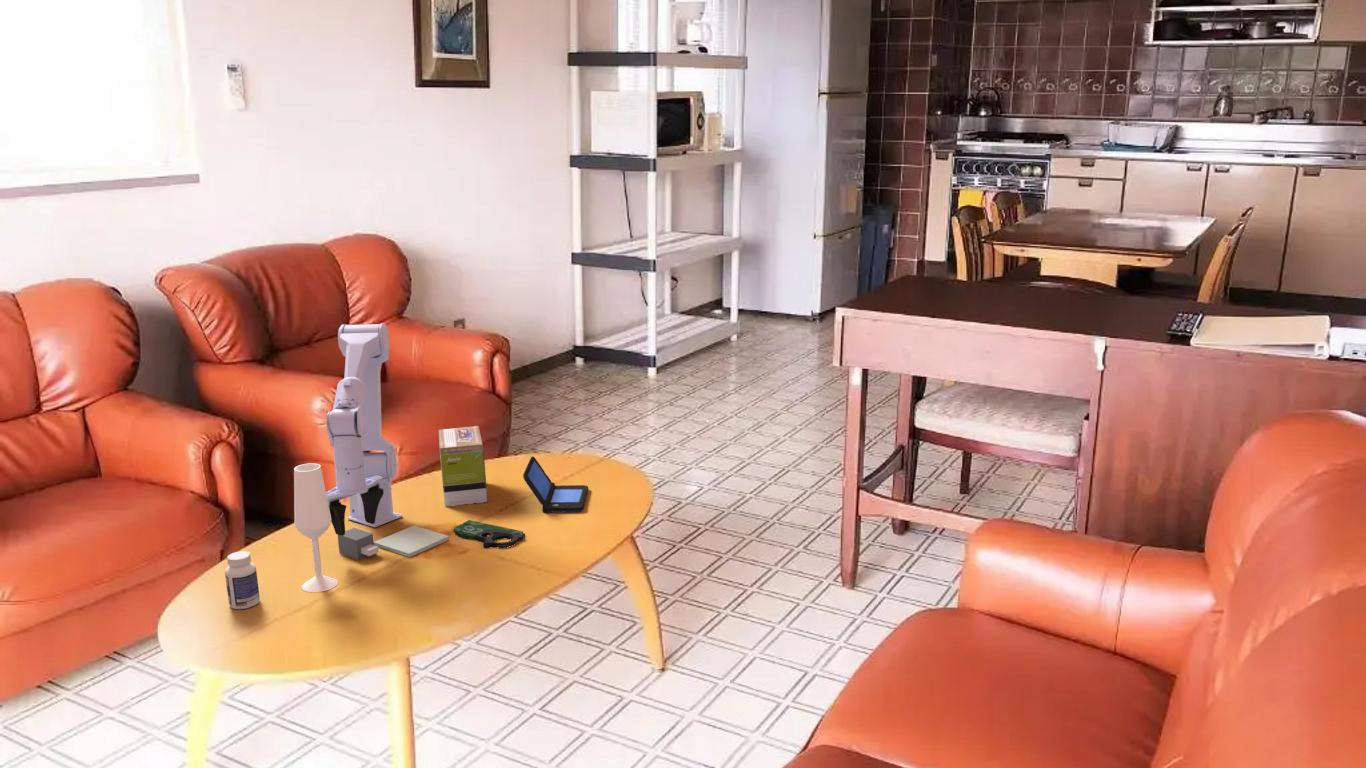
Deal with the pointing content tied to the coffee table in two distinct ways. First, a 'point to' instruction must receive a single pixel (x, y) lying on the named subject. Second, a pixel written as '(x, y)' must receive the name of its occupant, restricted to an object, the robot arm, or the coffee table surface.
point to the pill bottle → (241, 581)
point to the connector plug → (357, 544)
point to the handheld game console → (554, 491)
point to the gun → (488, 534)
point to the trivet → (411, 541)
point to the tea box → (462, 466)
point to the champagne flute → (312, 518)
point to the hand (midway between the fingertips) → (355, 528)
